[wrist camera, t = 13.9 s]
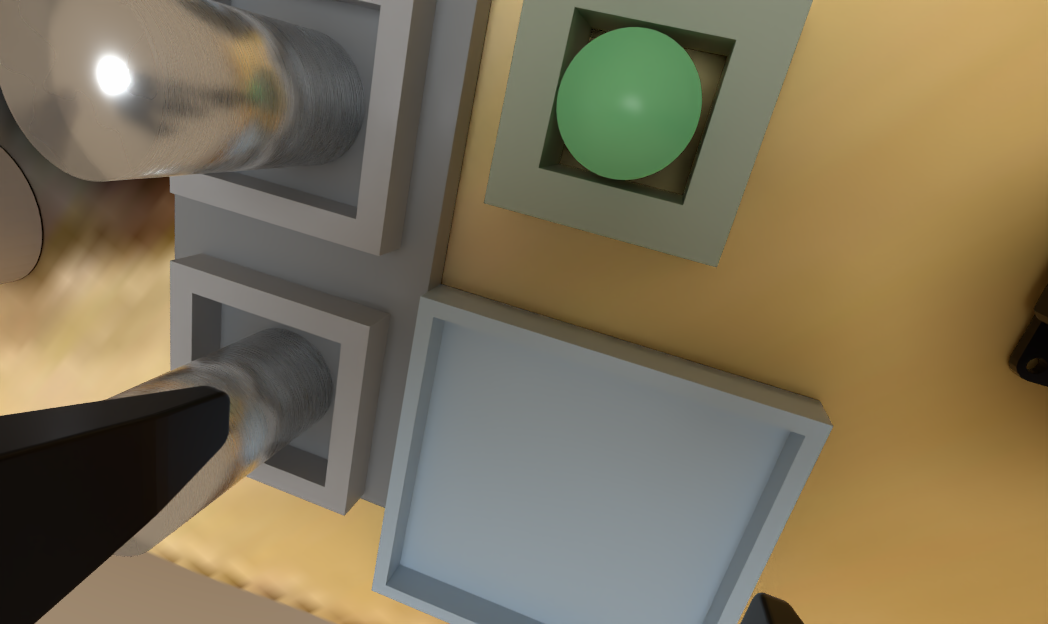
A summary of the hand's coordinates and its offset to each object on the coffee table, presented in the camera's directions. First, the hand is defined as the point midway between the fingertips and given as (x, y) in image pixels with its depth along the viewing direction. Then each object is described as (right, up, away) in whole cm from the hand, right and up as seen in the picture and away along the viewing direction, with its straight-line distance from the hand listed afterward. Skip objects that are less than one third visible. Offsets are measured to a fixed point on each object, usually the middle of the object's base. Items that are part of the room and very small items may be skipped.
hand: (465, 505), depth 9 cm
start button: (+4, +9, +8) cm, 13 cm away
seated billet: (-7, +10, +10) cm, 16 cm away
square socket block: (+5, +9, +9) cm, 14 cm away
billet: (-9, 0, +14) cm, 17 cm away
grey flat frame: (-7, +6, +13) cm, 16 cm away
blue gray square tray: (+3, -4, +14) cm, 14 cm away
